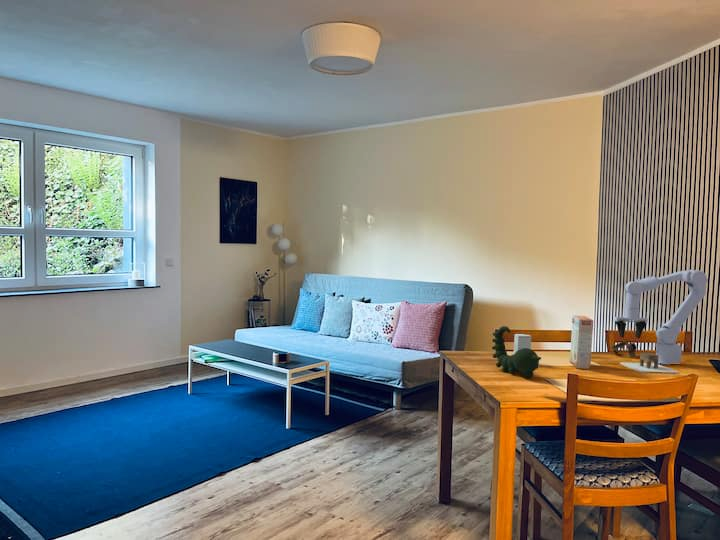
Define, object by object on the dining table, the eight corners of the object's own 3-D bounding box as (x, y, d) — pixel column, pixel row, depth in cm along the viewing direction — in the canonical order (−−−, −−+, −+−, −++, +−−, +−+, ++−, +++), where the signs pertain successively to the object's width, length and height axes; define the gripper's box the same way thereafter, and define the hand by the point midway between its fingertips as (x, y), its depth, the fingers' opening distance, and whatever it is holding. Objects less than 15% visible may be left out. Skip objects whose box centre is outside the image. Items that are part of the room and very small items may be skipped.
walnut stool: (649, 365, 227) (650, 353, 226) (657, 368, 222) (658, 355, 222) (639, 365, 226) (640, 353, 225) (647, 368, 221) (648, 355, 221)
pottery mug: (628, 360, 243) (619, 343, 245) (613, 364, 251) (605, 348, 254) (645, 352, 248) (636, 336, 250) (630, 357, 256) (622, 341, 259)
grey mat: (655, 364, 232) (655, 363, 232) (678, 373, 216) (679, 371, 216) (620, 363, 231) (620, 362, 231) (641, 372, 216) (641, 371, 215)
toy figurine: (487, 372, 214) (531, 381, 191) (486, 325, 215) (530, 329, 192) (505, 370, 218) (550, 379, 195) (504, 324, 219) (549, 328, 196)
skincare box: (517, 363, 224) (518, 335, 224) (512, 361, 229) (513, 333, 228) (530, 363, 225) (532, 335, 225) (525, 361, 230) (527, 333, 229)
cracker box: (591, 370, 217) (594, 319, 216) (575, 369, 218) (578, 318, 217) (583, 363, 231) (586, 315, 230) (569, 361, 232) (571, 314, 231)
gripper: (641, 307, 243) (639, 336, 244) (611, 306, 242) (609, 335, 243) (651, 309, 236) (649, 339, 237) (620, 308, 235) (618, 338, 236)
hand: (629, 337), depth 240 cm, fingers open, 7 cm apart
